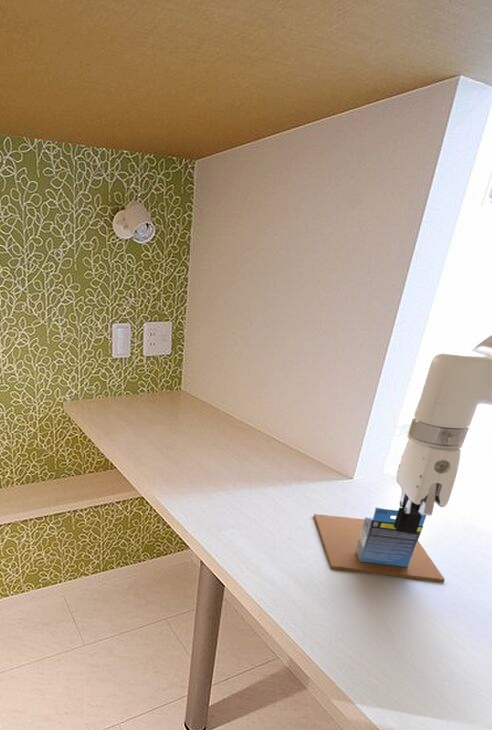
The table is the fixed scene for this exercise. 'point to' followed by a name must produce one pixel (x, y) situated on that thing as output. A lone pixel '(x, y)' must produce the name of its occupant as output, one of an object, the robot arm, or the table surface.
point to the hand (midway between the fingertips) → (404, 530)
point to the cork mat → (342, 553)
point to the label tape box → (386, 540)
